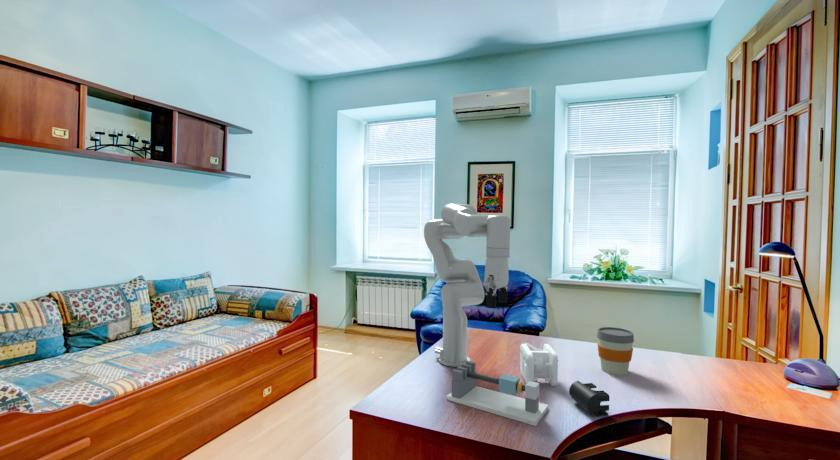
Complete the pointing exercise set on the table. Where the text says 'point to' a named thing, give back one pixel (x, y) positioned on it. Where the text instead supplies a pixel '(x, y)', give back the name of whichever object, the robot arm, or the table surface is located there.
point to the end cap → (589, 398)
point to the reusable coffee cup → (615, 349)
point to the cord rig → (496, 396)
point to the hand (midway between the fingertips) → (496, 305)
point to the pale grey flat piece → (533, 347)
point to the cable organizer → (539, 364)
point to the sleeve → (508, 384)
